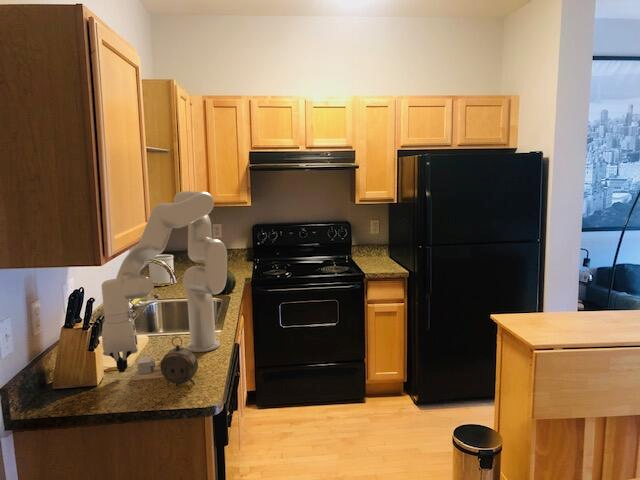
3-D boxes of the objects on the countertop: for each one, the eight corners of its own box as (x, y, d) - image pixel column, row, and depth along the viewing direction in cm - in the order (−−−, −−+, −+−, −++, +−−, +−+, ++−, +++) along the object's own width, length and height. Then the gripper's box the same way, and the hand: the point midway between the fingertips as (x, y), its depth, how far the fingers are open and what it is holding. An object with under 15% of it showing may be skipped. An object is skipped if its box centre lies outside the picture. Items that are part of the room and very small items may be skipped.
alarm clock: (199, 382, 149) (196, 334, 146) (193, 390, 143) (189, 340, 141) (167, 381, 150) (163, 333, 148) (159, 389, 145) (155, 339, 142)
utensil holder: (161, 280, 295) (159, 253, 292) (180, 282, 289) (178, 254, 286) (144, 286, 281) (142, 257, 279) (163, 288, 276) (161, 259, 273)
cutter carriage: (141, 368, 157) (140, 357, 156) (155, 366, 158) (154, 356, 157) (138, 374, 152) (137, 363, 151) (152, 372, 153) (152, 361, 152)
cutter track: (135, 373, 157) (134, 361, 156) (186, 368, 160) (185, 356, 159) (132, 380, 152) (131, 367, 151) (184, 374, 155) (183, 362, 154)
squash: (224, 287, 250) (231, 263, 258) (200, 286, 256) (208, 263, 263) (235, 299, 261) (242, 275, 269) (213, 298, 267) (220, 275, 274)
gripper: (143, 312, 156) (148, 364, 158) (96, 315, 153) (101, 368, 156) (139, 318, 148) (144, 373, 151) (89, 322, 146) (95, 377, 148)
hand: (122, 370), depth 153 cm, fingers closed
